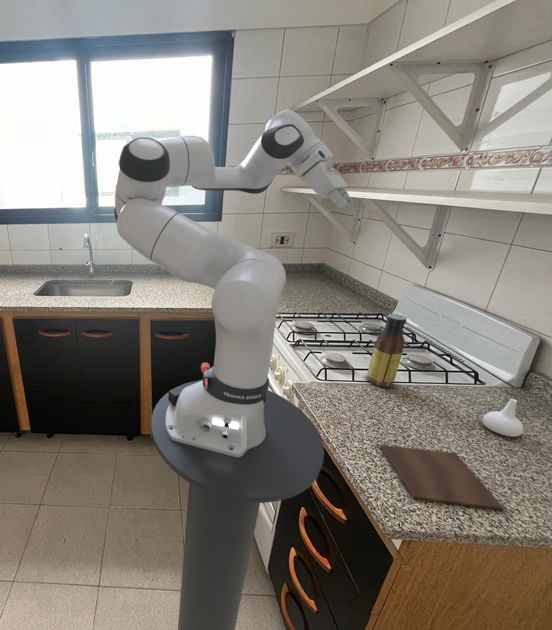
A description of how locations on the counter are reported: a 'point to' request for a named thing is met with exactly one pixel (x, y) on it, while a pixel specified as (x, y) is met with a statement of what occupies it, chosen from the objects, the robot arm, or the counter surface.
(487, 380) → the counter surface
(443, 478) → the walnut board
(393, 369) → the sauce bottle
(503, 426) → the garlic bulb
